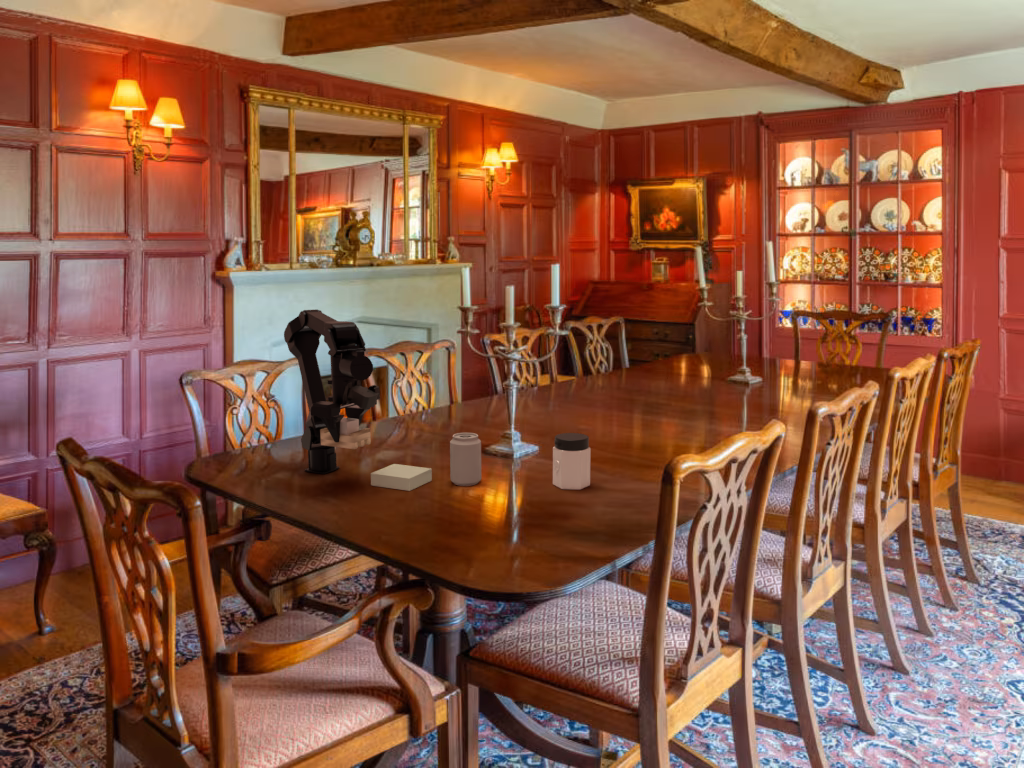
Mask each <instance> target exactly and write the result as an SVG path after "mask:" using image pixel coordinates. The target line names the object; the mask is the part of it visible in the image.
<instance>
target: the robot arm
mask: <svg viewBox="0 0 1024 768" xmlns="http://www.w3.org/2000/svg"><path fill="white" fill-rule="evenodd" d="M321 336H323V341H324V342H325V344H326V345H327V347H328V348H329V350H328V352H327V354H328V355H329V356H330V376H331V377H330V378H331V379H327V385H331V395H330V396H328V399H327V398H326V393H325V389H324V385H323V380H322V376H321V371H320V368H319V362H318V358H317V351H318V348H319V346H320V339H321ZM283 338H284V341H285V343H286V345H287V348H288V350H289V352H290V354H292V356H294V358H296V360H297V362H298V366H299V371H300V377H301V380H302V384H303V385H302V387H303V389H304V394H305V399H306V403H307V406H308V411H309V412H308V414H307V415H308V416H307V418H306V420H305V430H304V432H303V435H302V436H301V440H300V441H301V447H302V448H303V449H305V450H307V461H308V468H305V469H304V472H307V473H314V474H320V475H325V474H328V473H331V472H333V471H336V470H339V469H340V466H339V465H337V453H336V449H335V448H336V447H333V446H325V445H321V436H320V429H324V428H327V429H328V431H329V432H330V434H331V436H332V438H333V440H334V442H339V438H340V421H341V419H342V418H343V417H344V418H345V414H341V411H342V410H343V409H345V413H346V418H353V419H359V427H360V426H361V423H362V420H363V418H364V417H363V416H364V415H365V414H366V413H367V412H368V411H369V410H371V408H375V406H376V405H378V401H379V400H380V399H381V391H380V386H379V385H376V384H373V385H370V386H368V387H367V386H365V387H364V386H362V385H361V384H362V383H361V381H365V380H367V379H369V378H370V377H371V376H372V374H373V372H374V371H373V370H374V365H373V362H372V361H371V359H370V358H369V357H368V356H366V354H365V352H366V342H365V341H364V338H363V337H362V333H361V332H360V329H359V327H358V326H357V324H356V323H355V322H353V321H345V320H344V321H343V320H340V321H339V320H336V319H334V318H333V317H331V316H329V315H327V314H325V313H324V312H323V311H322V310H320V309H304V310H301V311H300V312H299V314H298V315H297V316H296V317H295V318H293V319H292V320H289V322H288V323H287V325H286V327H285V329H284V332H283Z"/></svg>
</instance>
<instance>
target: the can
mask: <svg viewBox="0 0 1024 768" xmlns="http://www.w3.org/2000/svg"><path fill="white" fill-rule="evenodd" d="M449 456H450V457H449V459H450V460H449V461H450V464H449V465H450V467H449V469H450V470H449V471H450V473H449V474H450V481H451V482H452V483H453V484H454V485H457V486H459V487H460V486H461V487H469V486H470V487H472V486H475V485H477V484H478V483H480V482H481V480H482V441H481V439H480V438H479V435H478V434H477V433H474V432H457V433H454V434H453V435H452V439H451V440H450V441H449Z"/></svg>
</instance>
